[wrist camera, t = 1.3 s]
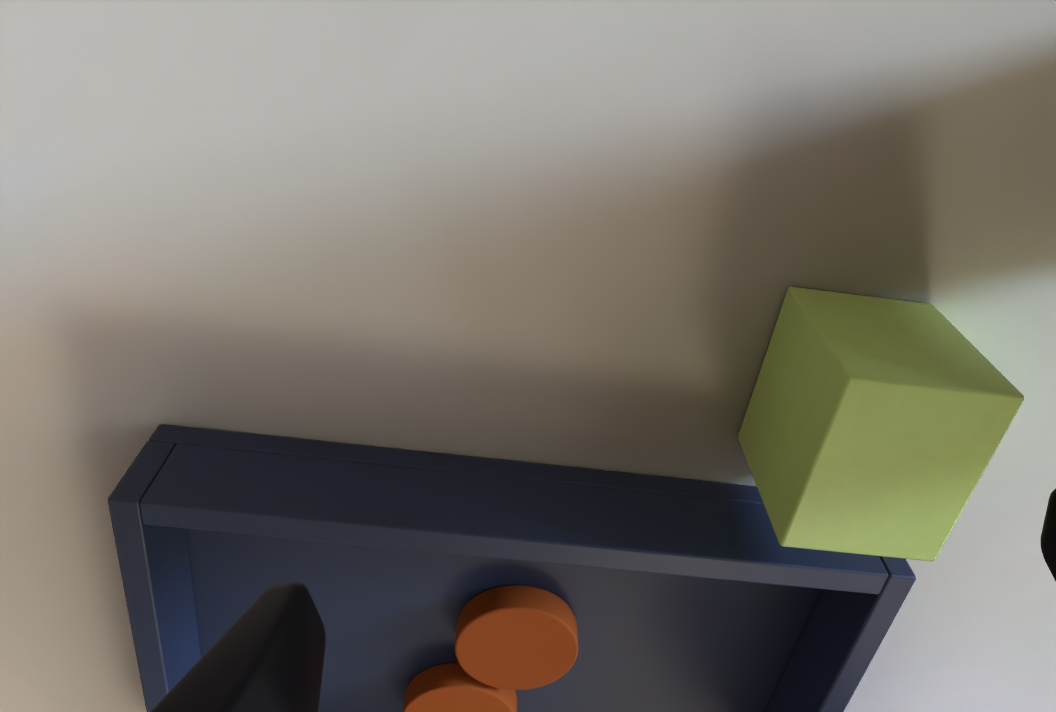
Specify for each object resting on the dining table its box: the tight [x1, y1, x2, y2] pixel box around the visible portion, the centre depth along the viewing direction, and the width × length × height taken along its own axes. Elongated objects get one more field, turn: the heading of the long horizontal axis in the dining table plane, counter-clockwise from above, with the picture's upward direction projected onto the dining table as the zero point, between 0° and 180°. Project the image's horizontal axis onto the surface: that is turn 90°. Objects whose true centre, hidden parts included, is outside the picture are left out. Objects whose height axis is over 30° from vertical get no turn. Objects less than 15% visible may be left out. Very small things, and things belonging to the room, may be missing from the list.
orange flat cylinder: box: [455, 585, 578, 690], centre depth 25 cm, size 4×4×1 cm
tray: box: [108, 425, 916, 712], centre depth 26 cm, size 22×16×3 cm
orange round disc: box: [402, 662, 517, 712], centre depth 27 cm, size 4×4×1 cm
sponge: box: [738, 287, 1024, 561], centre depth 20 cm, size 4×5×4 cm
